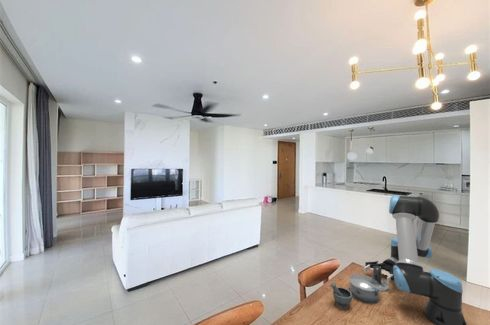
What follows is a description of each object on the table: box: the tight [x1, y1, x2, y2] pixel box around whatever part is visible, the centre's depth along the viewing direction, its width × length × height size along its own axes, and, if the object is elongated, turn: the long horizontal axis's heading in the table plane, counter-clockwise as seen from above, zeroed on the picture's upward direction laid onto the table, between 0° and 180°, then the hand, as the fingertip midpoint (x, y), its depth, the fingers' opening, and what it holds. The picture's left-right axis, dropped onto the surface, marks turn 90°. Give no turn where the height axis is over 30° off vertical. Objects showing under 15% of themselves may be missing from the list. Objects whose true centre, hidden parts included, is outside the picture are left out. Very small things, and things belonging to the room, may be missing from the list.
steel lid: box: [370, 266, 390, 292], centre depth 133 cm, size 12×12×12 cm
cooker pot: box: [348, 273, 380, 304], centre depth 124 cm, size 16×16×8 cm
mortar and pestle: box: [330, 282, 353, 310], centre depth 116 cm, size 11×9×12 cm
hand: (375, 274), depth 132 cm, fingers open, 13 cm apart
